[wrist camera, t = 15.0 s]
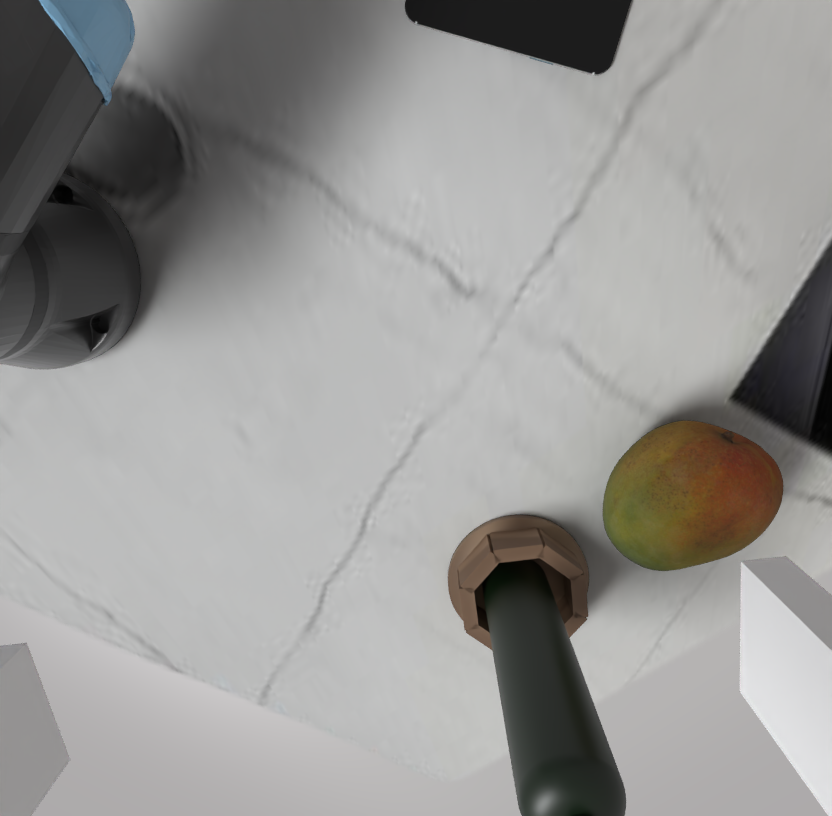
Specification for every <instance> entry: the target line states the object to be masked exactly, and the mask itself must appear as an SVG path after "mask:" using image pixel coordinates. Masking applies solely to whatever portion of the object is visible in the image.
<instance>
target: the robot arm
mask: <svg viewBox="0 0 832 816" xmlns="http://www.w3.org/2000/svg"><path fill="white" fill-rule="evenodd" d="M134 36H135V28H134V21H133V18H132V13H131V11H130V9H129V7H128V5H127V3H126V1H125V0H0V364H4V365H11V366H17V367H23V368H30V369H57V368H63V367H68V366H72V365H75V364H78V363H81V362H84V361H87V360H90V359H93V358H95V357H97V356H99V355H101V354H103V353H104V352H106V351H107V350H109V349H110V348H111V347H112V346H114V345H115V344H116V343H117V342H118V341H119V340H120V339H121V337H122V336H123V335H124V334H125V332H126V331H127V329H128V328H129V326H130V324H131V322H132V320H133V318H134V315H135V313H136V310H137V306H138V302H139V296H140V286H141V284H140V268H139V262H138V258H137V254H136V251H135V247H134V245H133V242H132V240H131V237H130V235H129V233H128V231H127V229H126V227H125V226H124V224H123V222H122V221H121V219H120V218H119V216H118V215H117V214H116V212H115V211H114V210H113V209H112V207H111V206H110V205H109V204H108V203H107V202H106V201H105V200H104V199H103V198H102V197H101V196H100V195H99V194H98V193H96V192H95V191H94V190H93V189H91V188H90V187H89V186H87V185H86V184H84V183H82V182H81V181H79V180H77V179H75V178H74V177H72V176H69V175H67V174H65V173H63V172H64V171H65V169H66V167H67V165H68V163H69V162H70V160H71V158H72V156H73V155H74V153H75V151H76V149H77V148H78V146H79V144H80V142H81V141H82V139H83V137H84V135H85V134H86V132H87V130H88V128H89V127H90V125H91V123H92V121H93V120H94V118H95V116H96V114H97V113H98V111H99V109H100V107H101V106H102V104H103V105H105V106H107V105H108V104H109V102H110V101H111V98H112V93H111V88H112V86H113V84H114V82H115V80H116V78H117V76H118V74H119V72H120V70H121V68H122V66H123V64H124V62H125V60H126V58H127V56H128V54H129V52H130V50H131V48H132V46H133V42H134ZM740 628H741V629H740V692H741V694H742V695H743V696H744V698H745V699H746V701H747V702H748V703H749V705H750V706H751V708H752V709H753V710H754V712H755V713H756V714H757V716H758V718H759V719H760V720H761V722H762V723H763V725H764V726H765V727H766V729H767V730H768V731H769V733H770V734H771V736H772V737H773V739H774V740H775V741H776V743H777V744H778V746H779V747H780V748H781V750H782V751H783V753H784V754H785V755H786V757H787V758H788V760H789V761H790V762H791V764H792V765H793V767H794V768H795V769H796V771H797V772H798V774H799V775H800V777H801V778H802V779H803V781H804V782H805V784H806V785H807V786H808V788H809V789H810V791H811V792H812V793H813V795H814V796H815V797H816V799H817V800H818V802H819V803H820V804H821V806H822V807H823V808H824V810H825V812H826V813H827V814H828V816H832V595H831V594H830V593H828V592H827V591H826V590H825V589H824V588H823V587H821V586H820V585H819V584H818V583H817V582H816V581H814V580H813V579H812V578H811V577H810V576H808V575H807V574H806V573H805V572H804V571H803V570H801V569H800V568H799V567H798V566H797V565H796V564H794V563H793V562H792V561H791V560H790V559H788V558H787V557H786V556H783V557H775V558H766V559H757V560H748V561H741V618H740ZM69 761H70V757H69V755H68V752H67V749H66V747H65V744H64V741H63V739H62V736H61V733H60V731H59V728H58V725H57V723H56V720H55V717H54V715H53V712H52V709H51V707H50V705H49V701H48V699H47V696H46V693H45V690H44V688H43V685H42V682H41V680H40V677H39V674H38V672H37V669H36V666H35V664H34V661H33V658H32V656H31V653H30V650H29V648H28V646H27V643H21V644H12V645H3V646H0V816H31V815H32V814H33V812H34V811H35V810H36V808H37V807H38V805H39V804H40V802H41V801H42V800H43V798H44V797H45V795H46V794H47V792H48V791H49V790H50V788H51V787H52V785H53V784H54V782H55V781H56V779H57V778H58V777H59V775H60V774H61V772H62V771H63V769H64V768H65V767H66V765H67V764H68V762H69Z"/></svg>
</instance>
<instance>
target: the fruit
mask: <svg viewBox="0 0 832 816" xmlns="http://www.w3.org/2000/svg"><path fill="white" fill-rule="evenodd" d="M782 495H783V479H782V475H781V472H780V470H779V467H778V465H777V464H776V462H775V461H774V459H773V458H772V457H771V456H770V455H769V454H768V453H766V452H765V451H764V450H763V449H762V448H761V447H760V446H759V445H757V444H756V443H754V442H752V441H750V440H749V439H747V438H745V437H743V436H741V435H739V434H736V433H734V432H731V431H729V430H726V429H723V428H720V427H717V426H714V425H711V424H707V423H703V422H698V421H677V422H672V423H669V424H666V425H663V426H661V427H658V428H656V429H654V430H652V431H651V432H649V433H647V434H646V435H645V436H643V437H642V438H641V439H640V440H638V441H637V442H636V443H635V444H634V445H632V446H631V448H630V449H629V450H628V451H627V452H626V453H625V454H624V455H623V456H622V457H621V459H620V460H619V461H618V463H617V464H616V466H615V467H614V469H613V471H612V473H611V475H610V477H609V480H608V483H607V486H606V490H605V494H604V502H603V521H604V526H605V530H606V533H607V535H608V537H609V539H610V540H611V542H612V543H613V545H614V546H615V547H616V548H617V549H618V550H619V551H620V552H621V553H622V554H623V555H624V556H625V557H627V558H628V559H630V560H631V561H633V562H634V563H636V564H638V565H640V566H642V567H645V568H648V569H652V570H658V571H669V570H677V569H683V568H687V567H691V566H695V565H700V564H704V563H707V562H711V561H714V560H718V559H721V558H724V557H727V556H729V555H732V554H734V553H736V552H738V551H740V550H741V549H743V548H745V547H746V546H748V545H749V544H750V543H752V542H753V541H754V540H755V539H757V538H758V537H759V536H760V535H761V534H762V533H763V532H764V531H765V530H766V529H767V527H768V526H769V525H770V523H771V522H772V520H773V519H774V517H775V515H776V514H777V512H778V510H779V507H780V504H781V501H782Z"/></svg>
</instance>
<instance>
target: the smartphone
mask: <svg viewBox="0 0 832 816" xmlns="http://www.w3.org/2000/svg"><path fill="white" fill-rule="evenodd" d="M630 3H631V0H406V2H405V11H406V15H407V17H408V18H409V20H410V21H411V22H412V23H414V24H416V25H419V26H423V27H426V28H430V29H433V30H437V31H440V32H444V33H447V34H451V35H454V36H457V37H461V38H464V39H468V40H471V41H475V42H478V43H482V44H485V45H489V46H492V47H496V48H499V49H503V50H506V51H510V52H513V53H517V54H520V55H524V56H527V57H530V58H531V59H535V60H538V61H542V62H545V63H549V64H552V65H553V64H555V65H558V66H562V67H565V68H569V69H572V70H576V71H579V72H583V73H586V74H590V75H600V74H602V73H604V72H605V71H606V70H607V69H608V68H609V67H610V65H611V63H612V61H613V57H614V54H615V51H616V48H617V45H618V41H619V38H620V35H621V32H622V28H623V25H624V22H625V19H626V16H627V12H628V9H629V6H630Z"/></svg>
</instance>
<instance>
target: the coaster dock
mask: <svg viewBox="0 0 832 816" xmlns="http://www.w3.org/2000/svg"><path fill="white" fill-rule="evenodd" d="M528 559H531V560H533V561H535V562H536V563H537V564H539V565H540V566H541V568H542V569H543V570H544V572H545V574H546V576H547V579H548V582H549V585H550V587H551V590H552V593H553V595H554V598H555V601H556V603H557V606H558V609H559V612H560V614H561V617H562V620H563V622H564V625H565V628H566V630H567V633H568V636H569V638H570V637H571V635H572V634H573V633H574V632H575V631H576V630H577V629H578V628H579V627H580V626H581V625H582V624H583V623H584V622H585V621H586V620H587V618H586V617H588V608H587V591H588V585H589V572H588V566H587V563H586V560H585V557H584V555H583V553H582V551H581V549H580V547H579V546H578V544H577V543H576V541H575V540H574V539H573V537H572V536H571V535H570V534H569V533H568V532H566V531H565V530H564V529H563V528H561V527H560V526H558V525H557V524H555V523H553V522H551V521H549V520H546V519H543V518H540V517H536V516H530V515H509V516H504V517H499V518H496V519H493V520H490V521H488V522H486V523H484V524H482V525H480V526H479V527H477V528H475V529H474V530H473V531H472V532H470V533H469V534H468V535H467V536H466V537H465V538H464V539H463V540H462V541H461V543H460V544H459V545H458V547H457V549H456V550H455V552H454V554H453V556H452V559H451V562H450V566H449V571H448V586H449V594H450V598H451V601H452V604H453V606H454V608H455V610H456V612H457V613H458V615H459V616H460V617H461V619H462V620H463V621H464V628H465V630H466V633H467V634H469V635H470V636H472V637H473V638H475V639H476V640H478V641H479V642H481V643H482V644H484V645H485V646H487V647H488V648H490V649H491V650H492V644H491V638H490V632H489V626H488V620H487V614H486V608H485V602H484V596H483V590H482V582H483V580H484V579H485V578H486V577H487V576H488V575H489V574H490V573H491V571H492V570H493V569H494V568H495V567H496V566H497V565H498V564H499V563H502V562H511V561H519V560H528Z"/></svg>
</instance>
